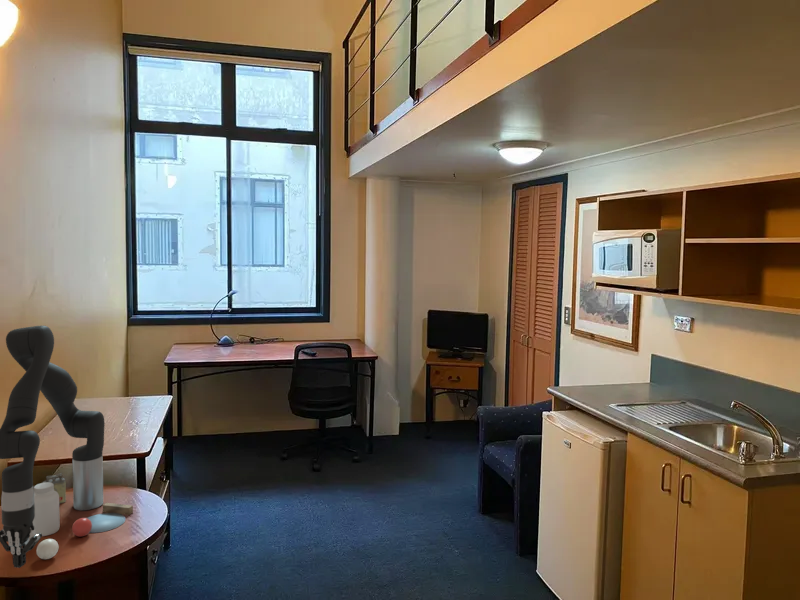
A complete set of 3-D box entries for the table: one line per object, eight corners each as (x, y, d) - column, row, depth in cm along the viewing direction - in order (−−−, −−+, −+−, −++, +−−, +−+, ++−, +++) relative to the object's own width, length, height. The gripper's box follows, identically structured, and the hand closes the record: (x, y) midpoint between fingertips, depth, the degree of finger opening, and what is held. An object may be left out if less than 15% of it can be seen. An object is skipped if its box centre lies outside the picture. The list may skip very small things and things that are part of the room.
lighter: (43, 507, 204) (42, 478, 204) (42, 503, 207) (41, 475, 207) (66, 502, 209) (66, 474, 208) (65, 498, 212) (64, 471, 211)
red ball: (70, 534, 185) (70, 517, 185) (89, 529, 189) (89, 513, 188) (74, 541, 181) (73, 524, 181) (94, 536, 185) (93, 519, 184)
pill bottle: (26, 538, 182) (25, 491, 181) (35, 526, 190) (34, 481, 189) (55, 535, 184) (54, 489, 183) (63, 524, 192) (61, 479, 191)
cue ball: (35, 557, 172) (34, 538, 171) (56, 551, 175) (56, 533, 175) (38, 565, 167) (37, 546, 167) (60, 559, 171) (60, 540, 170)
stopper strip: (102, 512, 202) (102, 505, 201) (106, 509, 204) (106, 502, 203) (129, 515, 200) (129, 508, 200) (132, 512, 202) (132, 505, 201)
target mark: (73, 520, 195) (73, 520, 195) (119, 509, 204) (119, 509, 204) (82, 537, 184) (82, 536, 184) (130, 524, 193) (130, 524, 193)
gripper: (-15, 507, 158) (-14, 570, 159) (28, 512, 155) (29, 576, 157) (8, 496, 165) (10, 556, 166) (50, 501, 163) (51, 562, 164)
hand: (19, 566), depth 162 cm, fingers closed
